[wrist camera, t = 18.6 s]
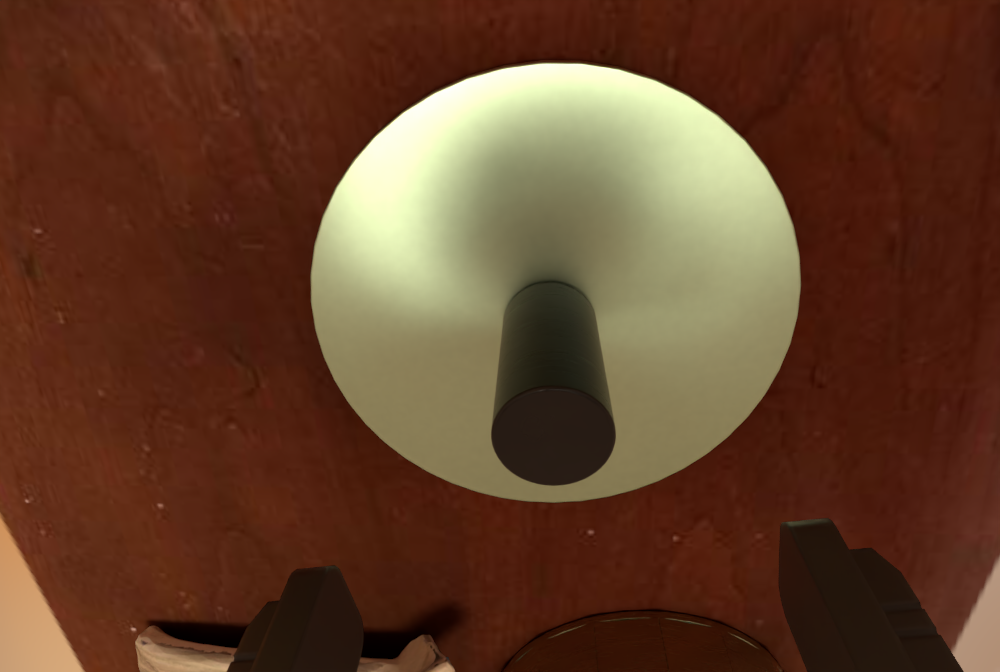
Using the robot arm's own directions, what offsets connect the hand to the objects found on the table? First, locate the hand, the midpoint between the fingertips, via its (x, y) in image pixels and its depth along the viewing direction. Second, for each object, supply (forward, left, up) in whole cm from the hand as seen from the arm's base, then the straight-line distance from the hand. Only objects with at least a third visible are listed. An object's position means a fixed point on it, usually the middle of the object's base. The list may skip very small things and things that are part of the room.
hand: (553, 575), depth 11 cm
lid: (0, 0, -11) cm, 11 cm away
